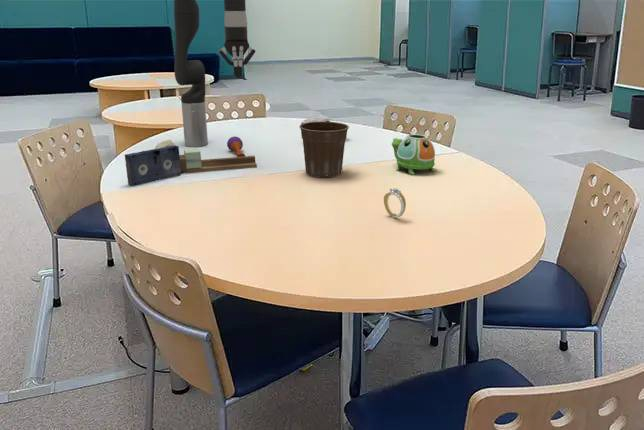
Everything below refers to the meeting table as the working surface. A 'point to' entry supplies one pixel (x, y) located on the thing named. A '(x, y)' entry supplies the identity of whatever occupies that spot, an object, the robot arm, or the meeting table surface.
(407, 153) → the turtle holder
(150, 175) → the vhs cassette tape
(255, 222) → the meeting table surface
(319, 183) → the meeting table surface
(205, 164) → the rail
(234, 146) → the kendama
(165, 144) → the fossil replica
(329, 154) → the plant pot
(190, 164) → the keeper
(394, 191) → the ring
